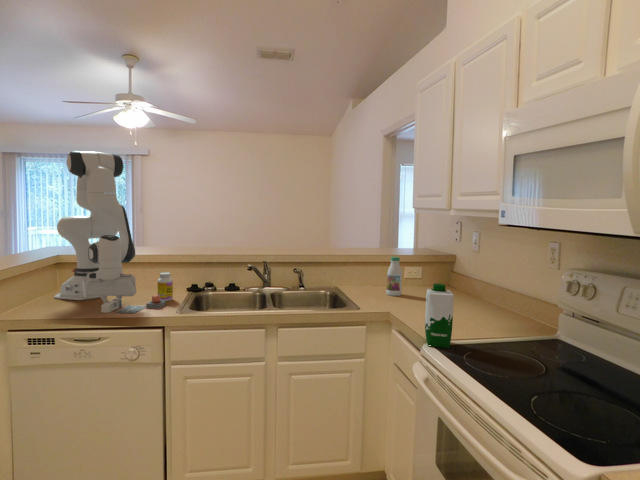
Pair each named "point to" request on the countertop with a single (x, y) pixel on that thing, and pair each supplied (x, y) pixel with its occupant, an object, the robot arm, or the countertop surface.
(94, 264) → the robot arm
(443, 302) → the milk carton
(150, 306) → the button collar
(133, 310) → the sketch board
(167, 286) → the supplement bottle
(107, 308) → the grey rectangular bar
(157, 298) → the button
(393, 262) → the milk bottle
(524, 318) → the countertop surface
